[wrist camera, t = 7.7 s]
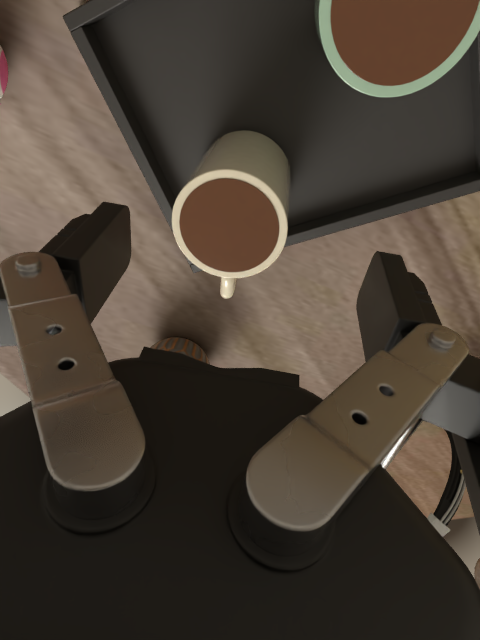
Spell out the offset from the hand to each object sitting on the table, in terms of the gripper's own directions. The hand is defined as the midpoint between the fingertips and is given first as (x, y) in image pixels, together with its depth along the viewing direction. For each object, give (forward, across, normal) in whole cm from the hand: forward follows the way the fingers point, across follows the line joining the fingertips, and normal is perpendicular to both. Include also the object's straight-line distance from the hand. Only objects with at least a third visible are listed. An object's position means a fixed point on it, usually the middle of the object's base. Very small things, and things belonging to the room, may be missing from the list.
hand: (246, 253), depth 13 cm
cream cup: (+17, +1, +5) cm, 17 cm away
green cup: (+17, -5, -8) cm, 19 cm away
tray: (+18, -1, -2) cm, 18 cm away
